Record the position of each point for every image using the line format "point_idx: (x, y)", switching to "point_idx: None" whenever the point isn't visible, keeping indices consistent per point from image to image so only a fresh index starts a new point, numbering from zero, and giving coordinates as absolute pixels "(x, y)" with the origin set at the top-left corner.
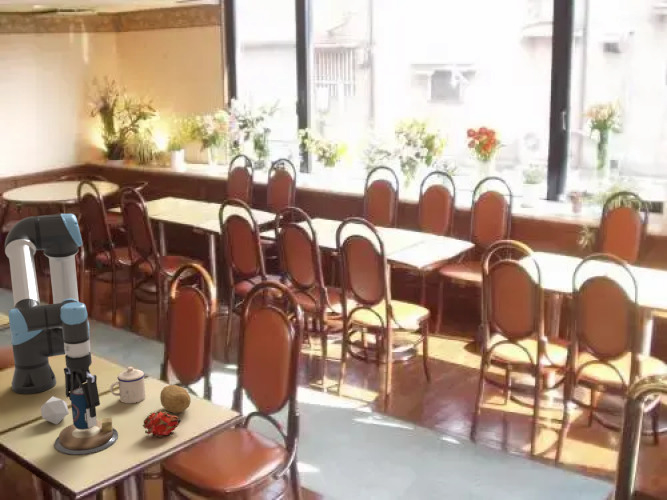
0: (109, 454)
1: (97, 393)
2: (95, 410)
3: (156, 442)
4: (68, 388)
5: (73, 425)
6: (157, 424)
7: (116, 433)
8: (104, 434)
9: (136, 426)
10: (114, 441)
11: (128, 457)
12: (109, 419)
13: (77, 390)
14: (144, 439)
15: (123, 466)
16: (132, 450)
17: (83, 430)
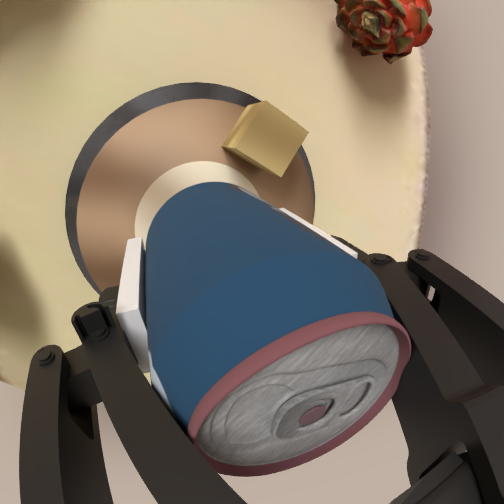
0: (348, 204)
1: (490, 301)
2: (360, 252)
3: (385, 64)
4: (100, 466)
5: (95, 249)
6: (422, 43)
7: (251, 101)
8: (290, 177)
9: (240, 11)
10: (301, 145)
11: (395, 175)
12: (276, 122)
13: (231, 435)
14: (349, 66)
15: (411, 211)
16: (377, 140)
17: None
